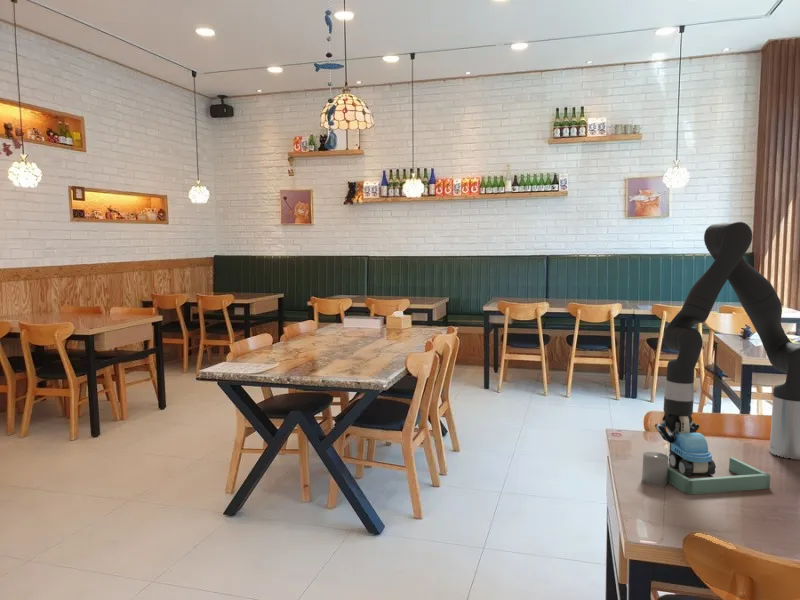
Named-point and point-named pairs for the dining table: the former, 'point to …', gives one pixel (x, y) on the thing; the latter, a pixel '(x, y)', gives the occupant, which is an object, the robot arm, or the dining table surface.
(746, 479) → the bay
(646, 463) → the grey upright cylinder
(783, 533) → the dining table surface
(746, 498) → the dining table surface
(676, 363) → the robot arm
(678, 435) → the toy excavator
